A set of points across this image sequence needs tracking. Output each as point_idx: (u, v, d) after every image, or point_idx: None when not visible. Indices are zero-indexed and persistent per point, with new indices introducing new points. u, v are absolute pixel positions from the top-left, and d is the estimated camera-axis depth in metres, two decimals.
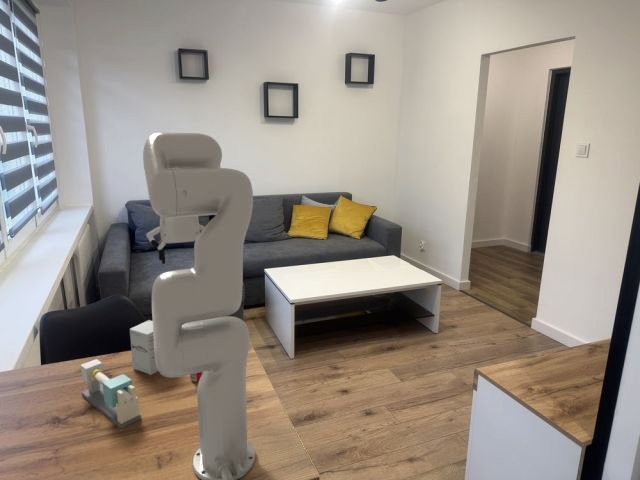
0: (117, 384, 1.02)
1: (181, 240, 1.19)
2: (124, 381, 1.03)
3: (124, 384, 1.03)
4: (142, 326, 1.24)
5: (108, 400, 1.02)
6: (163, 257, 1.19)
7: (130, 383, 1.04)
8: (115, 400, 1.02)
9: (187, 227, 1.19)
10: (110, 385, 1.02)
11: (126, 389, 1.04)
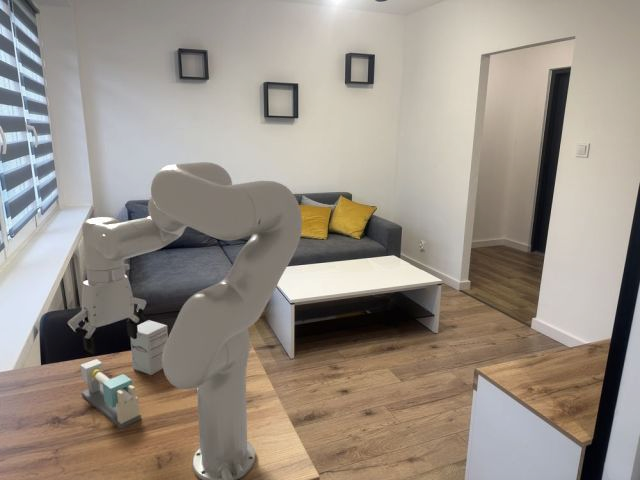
0: (117, 384, 1.02)
1: None
2: (124, 381, 1.03)
3: (124, 384, 1.03)
4: (142, 326, 1.24)
5: (108, 400, 1.02)
6: None
7: (130, 383, 1.04)
8: (115, 400, 1.02)
9: None
10: (110, 385, 1.02)
11: (126, 389, 1.04)
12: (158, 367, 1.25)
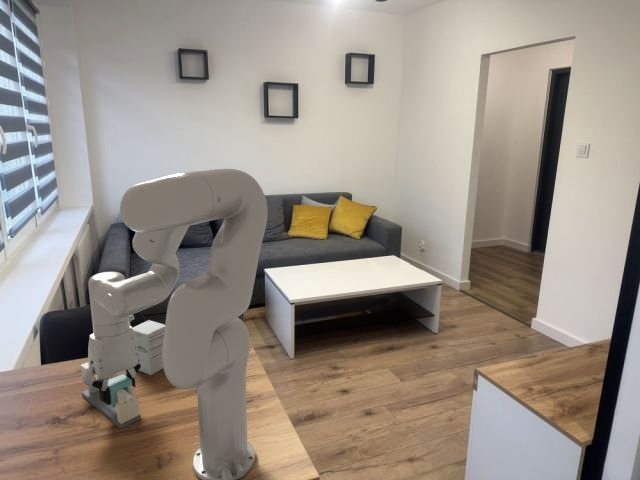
0: (117, 384, 1.02)
1: None
2: (124, 381, 1.03)
3: (124, 384, 1.03)
4: (142, 326, 1.24)
5: None
6: None
7: (130, 383, 1.04)
8: (115, 400, 1.02)
9: None
10: (110, 385, 1.02)
11: (126, 389, 1.04)
12: (158, 367, 1.25)
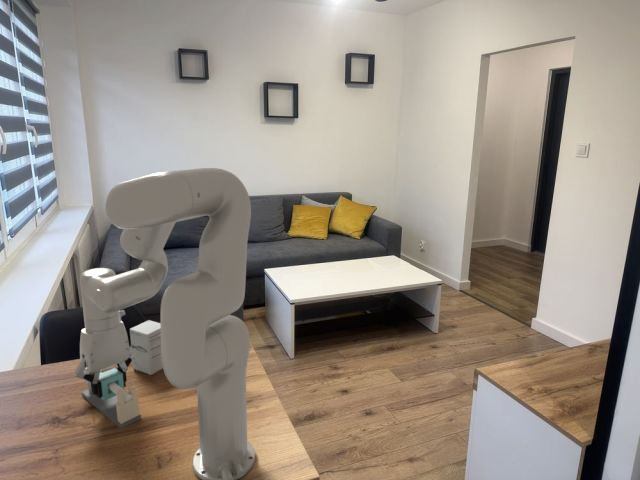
0: (108, 378, 1.05)
1: None
2: (115, 375, 1.06)
3: (115, 377, 1.06)
4: (142, 326, 1.24)
5: None
6: None
7: (121, 377, 1.07)
8: (106, 393, 1.04)
9: None
10: (101, 378, 1.04)
11: (117, 382, 1.07)
12: (158, 367, 1.25)
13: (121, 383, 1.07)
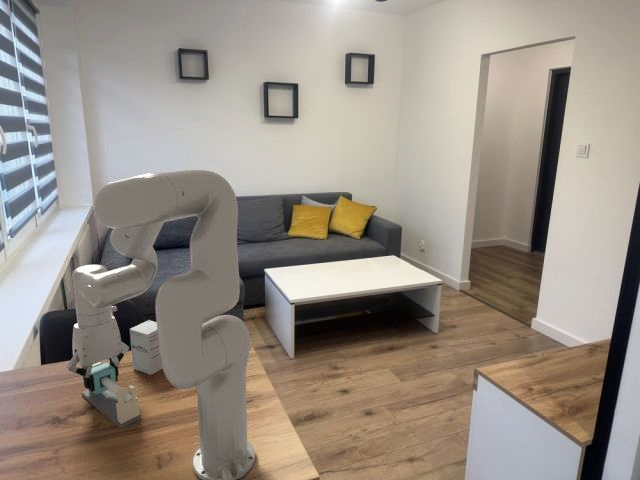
0: (100, 372, 1.07)
1: None
2: (107, 369, 1.08)
3: (107, 372, 1.08)
4: (142, 326, 1.24)
5: None
6: None
7: (113, 371, 1.09)
8: (98, 387, 1.07)
9: None
10: (94, 372, 1.07)
11: (109, 377, 1.09)
12: (158, 367, 1.25)
13: (113, 377, 1.09)
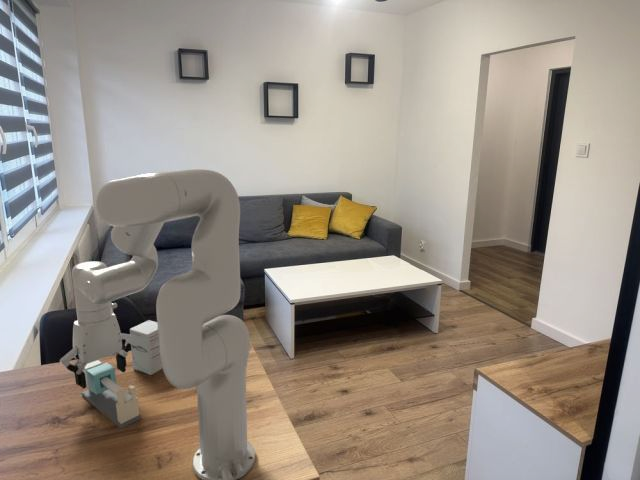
0: (100, 372, 1.07)
1: None
2: (107, 369, 1.08)
3: (107, 372, 1.08)
4: (142, 326, 1.24)
5: (92, 387, 1.07)
6: None
7: (113, 371, 1.09)
8: (98, 387, 1.07)
9: None
10: (94, 373, 1.07)
11: (110, 377, 1.09)
12: (158, 367, 1.25)
13: (113, 377, 1.09)
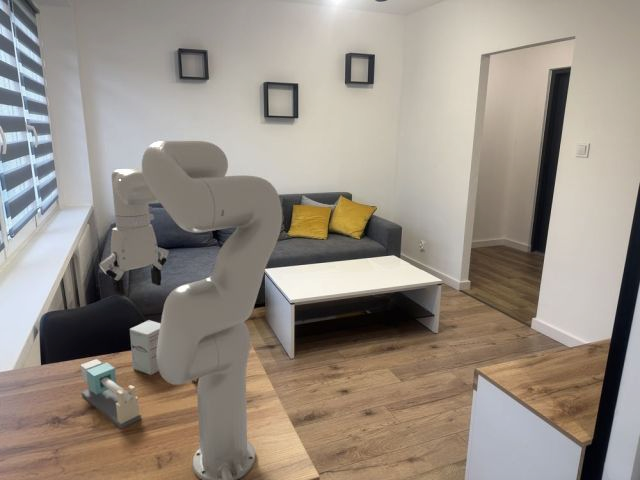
0: (100, 372, 1.07)
1: None
2: (107, 369, 1.08)
3: (107, 372, 1.08)
4: (142, 326, 1.24)
5: (92, 387, 1.07)
6: None
7: (113, 371, 1.09)
8: (98, 387, 1.07)
9: None
10: (94, 373, 1.07)
11: (110, 377, 1.09)
12: None
13: (113, 377, 1.09)
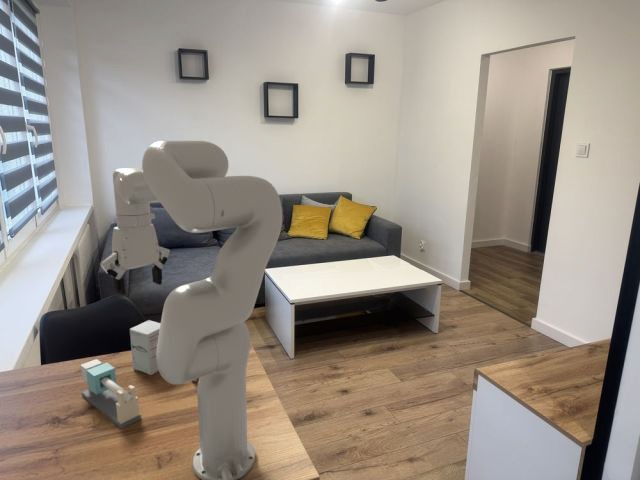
0: (100, 372, 1.07)
1: None
2: (107, 369, 1.08)
3: (107, 372, 1.08)
4: (142, 326, 1.24)
5: (92, 387, 1.07)
6: None
7: (113, 371, 1.09)
8: (98, 387, 1.07)
9: None
10: (94, 373, 1.07)
11: (110, 377, 1.09)
12: None
13: (113, 377, 1.09)
